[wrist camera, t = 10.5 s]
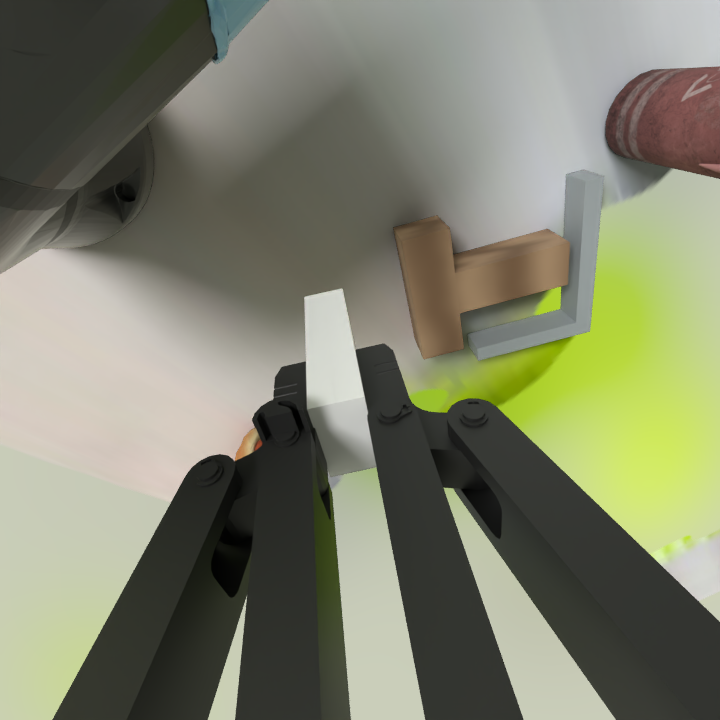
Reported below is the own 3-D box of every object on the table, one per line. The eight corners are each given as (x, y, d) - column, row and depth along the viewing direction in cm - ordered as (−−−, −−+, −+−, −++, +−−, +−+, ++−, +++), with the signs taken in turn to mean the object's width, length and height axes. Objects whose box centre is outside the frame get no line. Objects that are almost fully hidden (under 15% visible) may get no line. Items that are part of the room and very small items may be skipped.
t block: (414, 338, 43) (423, 359, 40) (393, 227, 37) (401, 241, 33) (545, 303, 43) (565, 321, 40) (548, 184, 36) (572, 194, 33)
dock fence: (468, 345, 45) (478, 360, 42) (453, 206, 36) (464, 214, 34) (573, 317, 44) (589, 331, 42) (583, 169, 36) (604, 176, 33)
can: (584, 126, 34) (729, 148, 22) (652, 50, 31) (855, 29, 20) (623, 174, 36) (772, 216, 25) (689, 106, 34) (889, 117, 22)
